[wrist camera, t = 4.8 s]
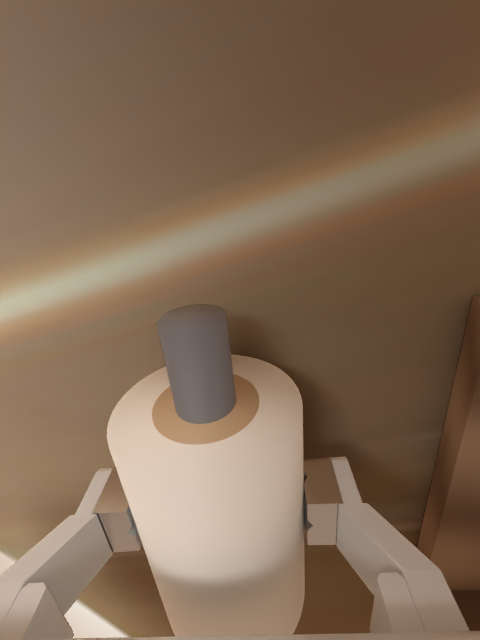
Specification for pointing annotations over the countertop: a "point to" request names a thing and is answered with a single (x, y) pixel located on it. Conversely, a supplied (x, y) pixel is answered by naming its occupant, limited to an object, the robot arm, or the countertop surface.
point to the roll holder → (459, 483)
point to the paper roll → (215, 480)
